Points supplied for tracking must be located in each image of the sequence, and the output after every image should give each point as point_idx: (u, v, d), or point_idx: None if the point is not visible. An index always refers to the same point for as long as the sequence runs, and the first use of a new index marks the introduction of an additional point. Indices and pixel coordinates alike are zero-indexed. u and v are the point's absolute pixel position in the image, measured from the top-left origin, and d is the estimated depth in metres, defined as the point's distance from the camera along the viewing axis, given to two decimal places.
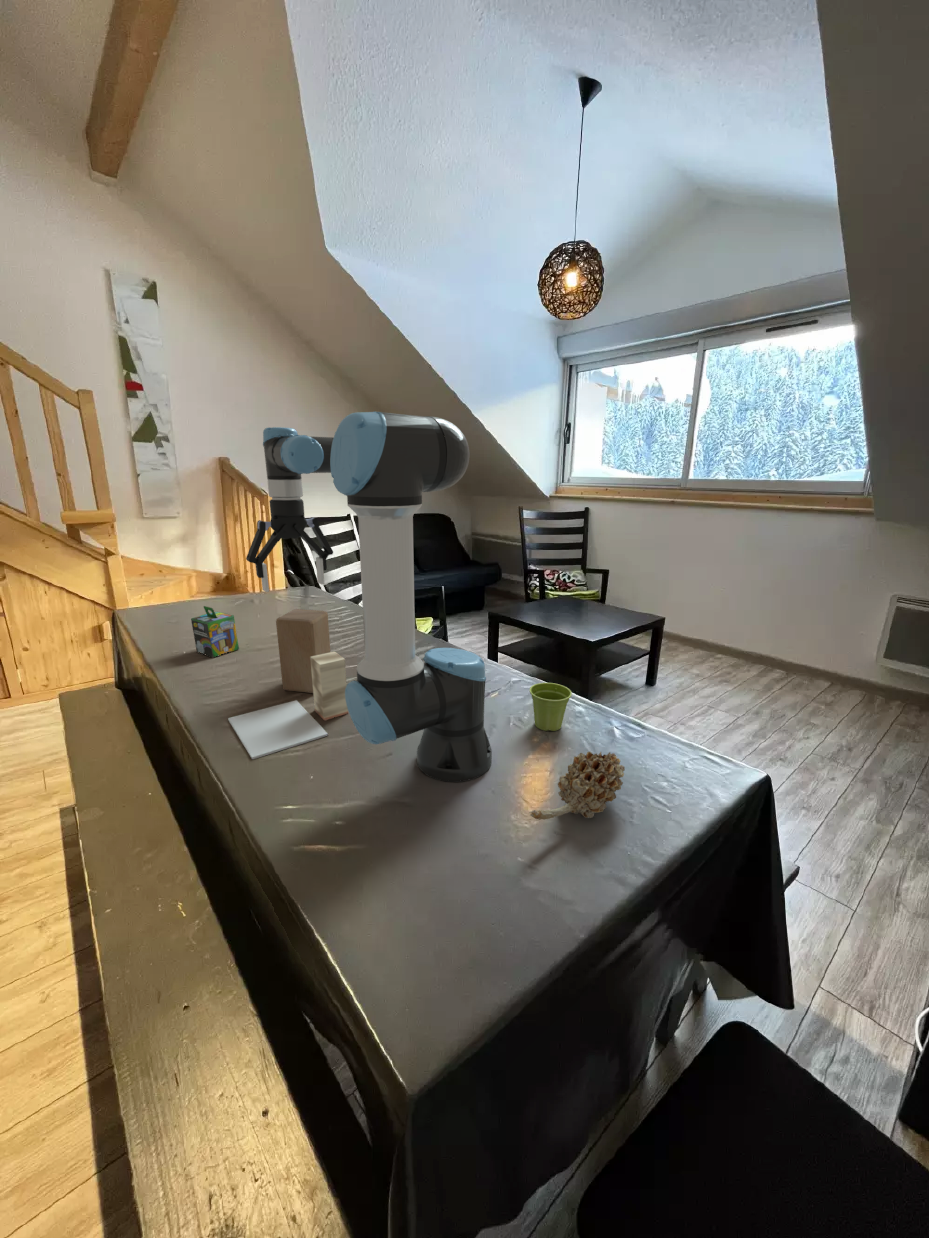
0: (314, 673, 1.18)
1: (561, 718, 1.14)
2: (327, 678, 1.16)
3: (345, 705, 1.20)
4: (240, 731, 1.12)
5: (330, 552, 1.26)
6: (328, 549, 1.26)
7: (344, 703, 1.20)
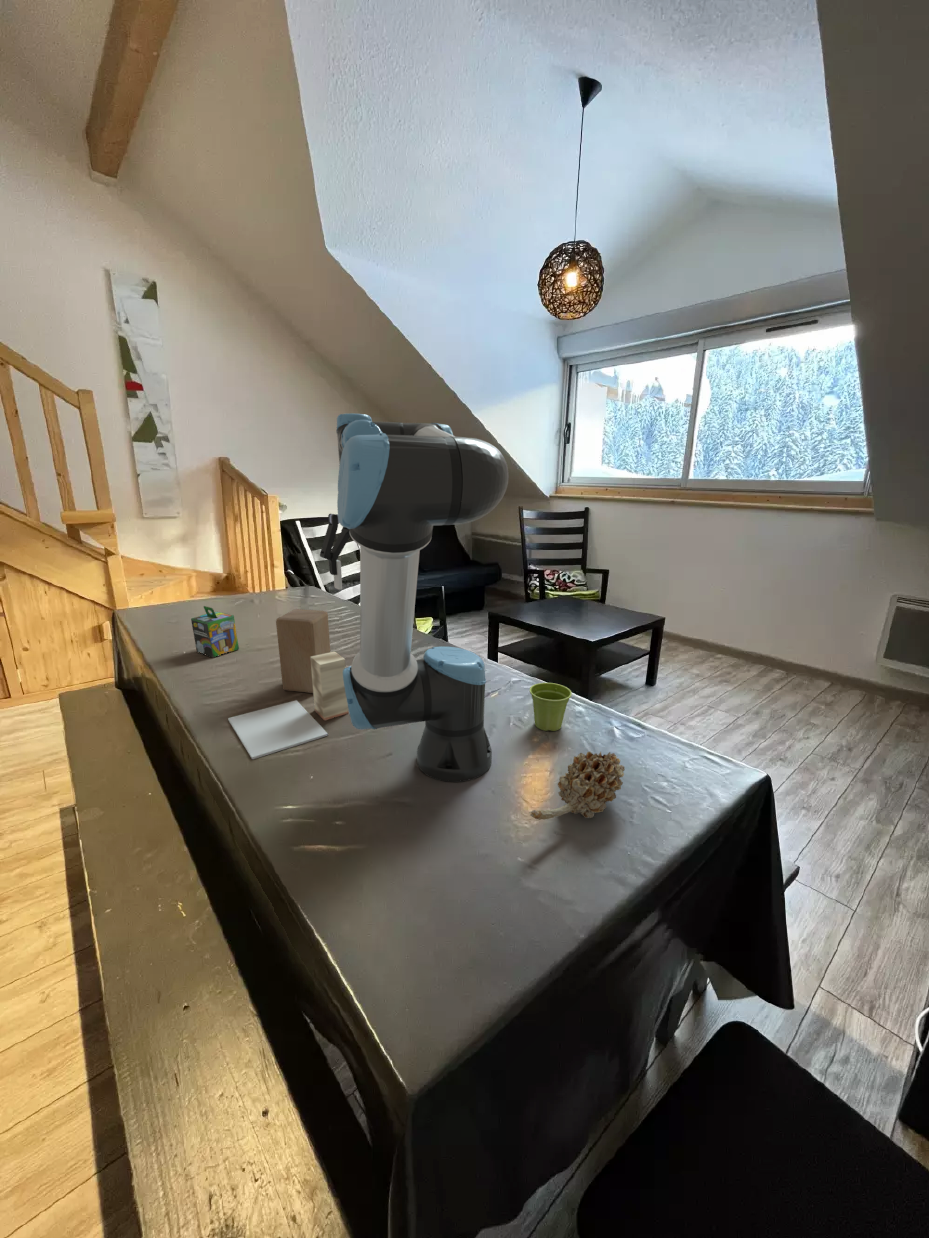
0: (314, 673, 1.18)
1: (561, 718, 1.14)
2: (327, 678, 1.16)
3: (345, 705, 1.20)
4: (240, 731, 1.12)
5: None
6: None
7: (344, 703, 1.20)
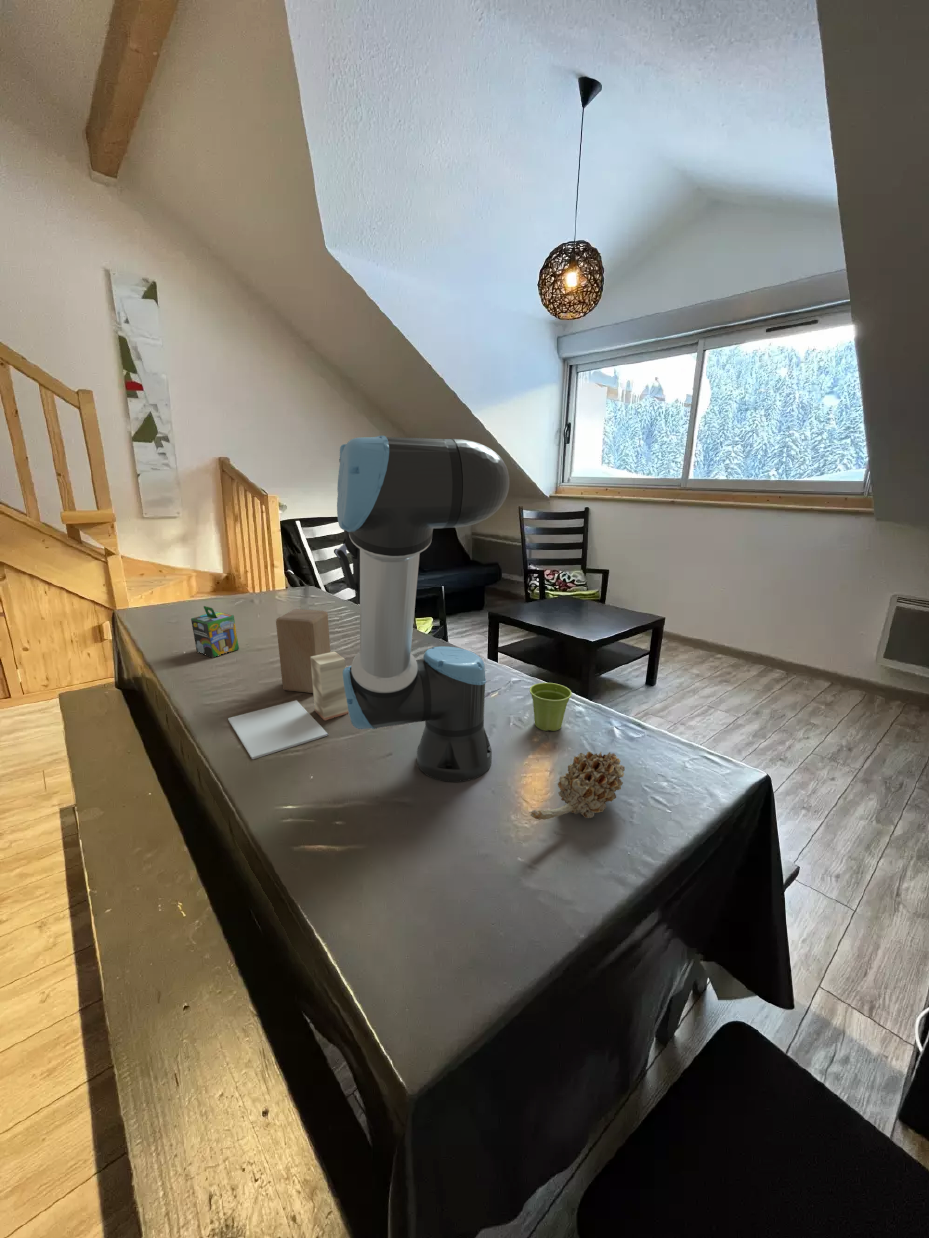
0: (314, 673, 1.18)
1: (561, 718, 1.14)
2: (327, 678, 1.16)
3: (345, 705, 1.20)
4: (240, 731, 1.12)
5: None
6: None
7: (344, 703, 1.20)
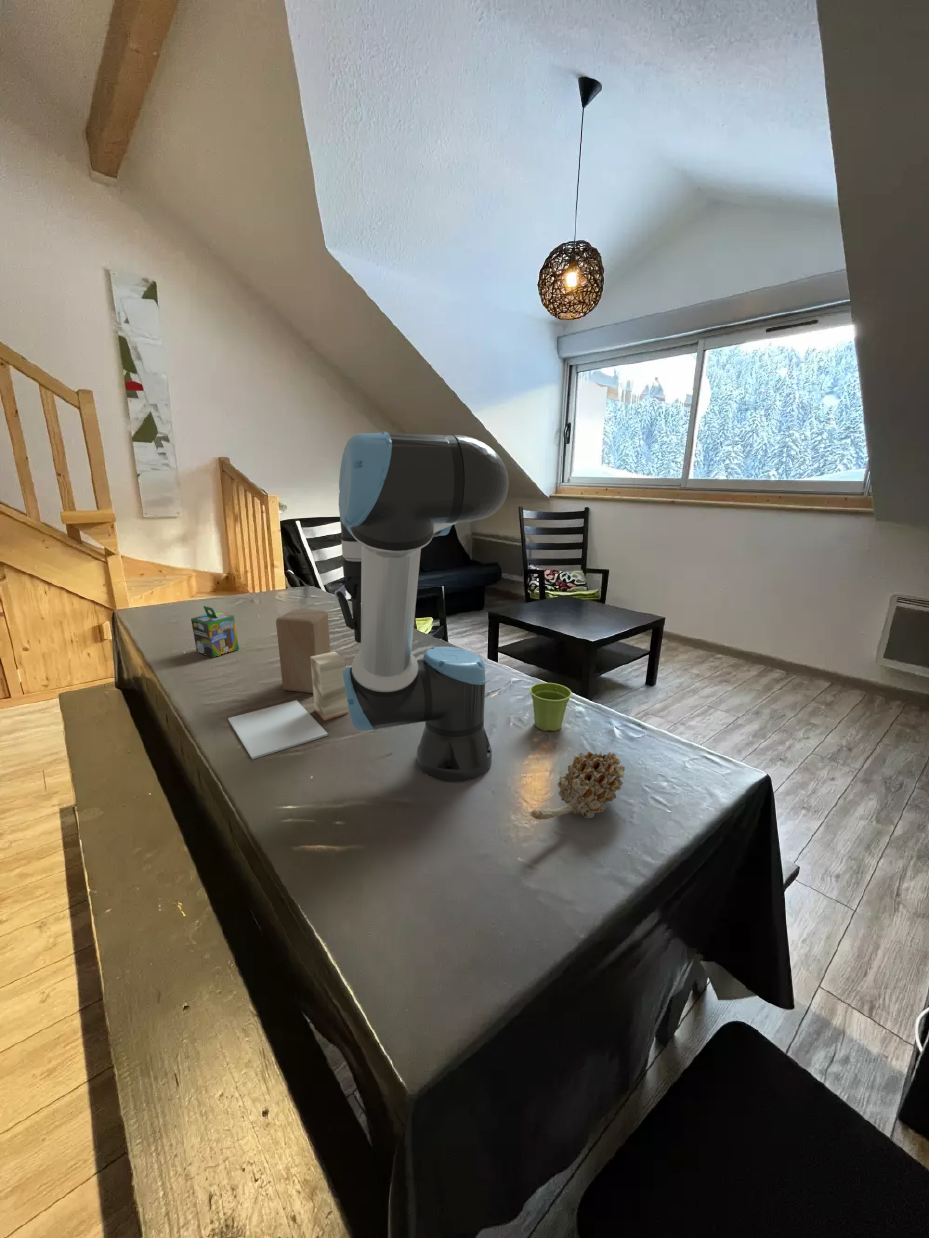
0: (314, 673, 1.18)
1: (561, 718, 1.14)
2: (327, 678, 1.16)
3: (345, 705, 1.20)
4: (240, 731, 1.12)
5: None
6: None
7: (344, 703, 1.20)
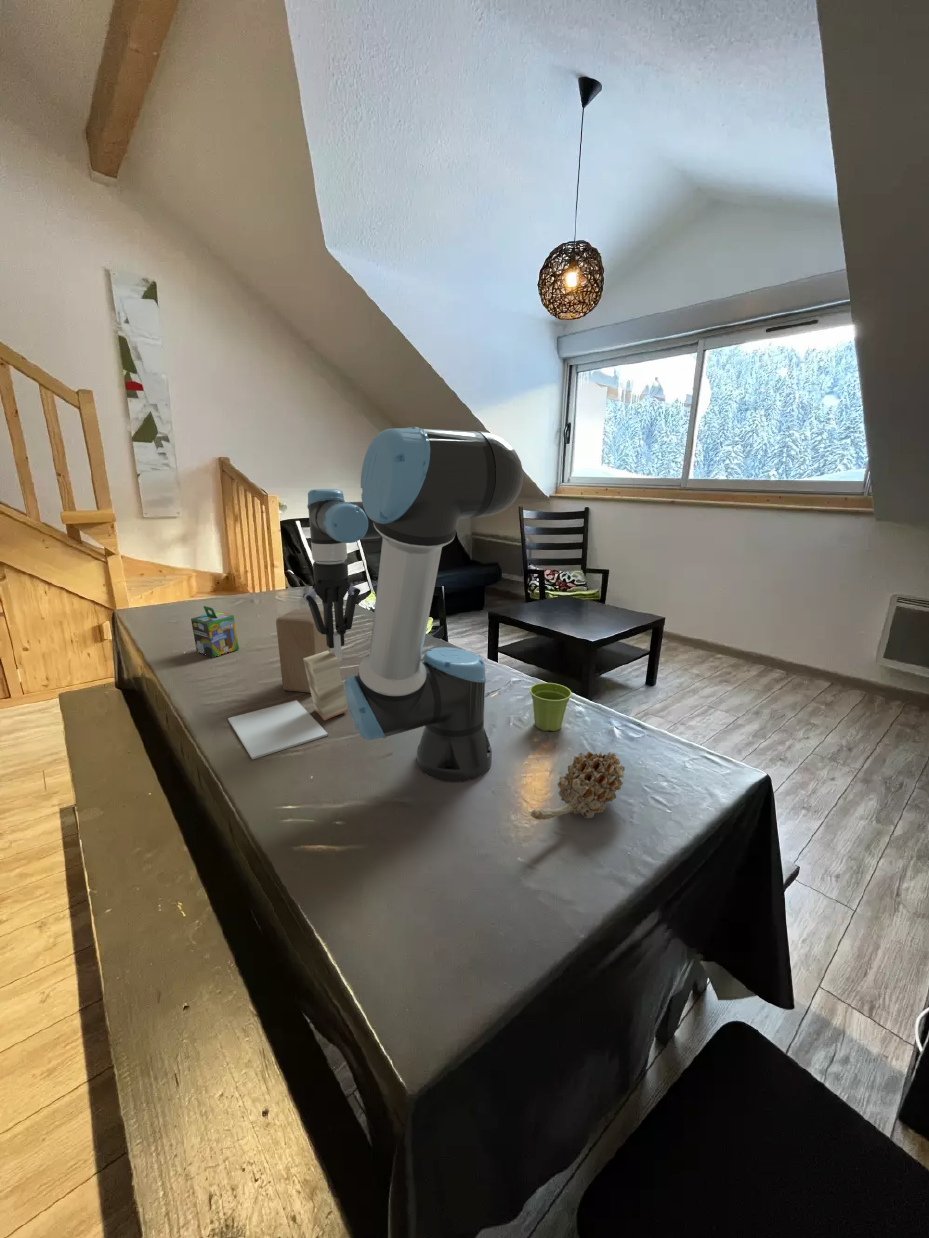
0: (309, 675, 1.17)
1: (561, 718, 1.14)
2: (322, 679, 1.15)
3: (344, 703, 1.20)
4: (240, 731, 1.12)
5: (348, 626, 1.18)
6: (349, 623, 1.18)
7: (342, 701, 1.20)
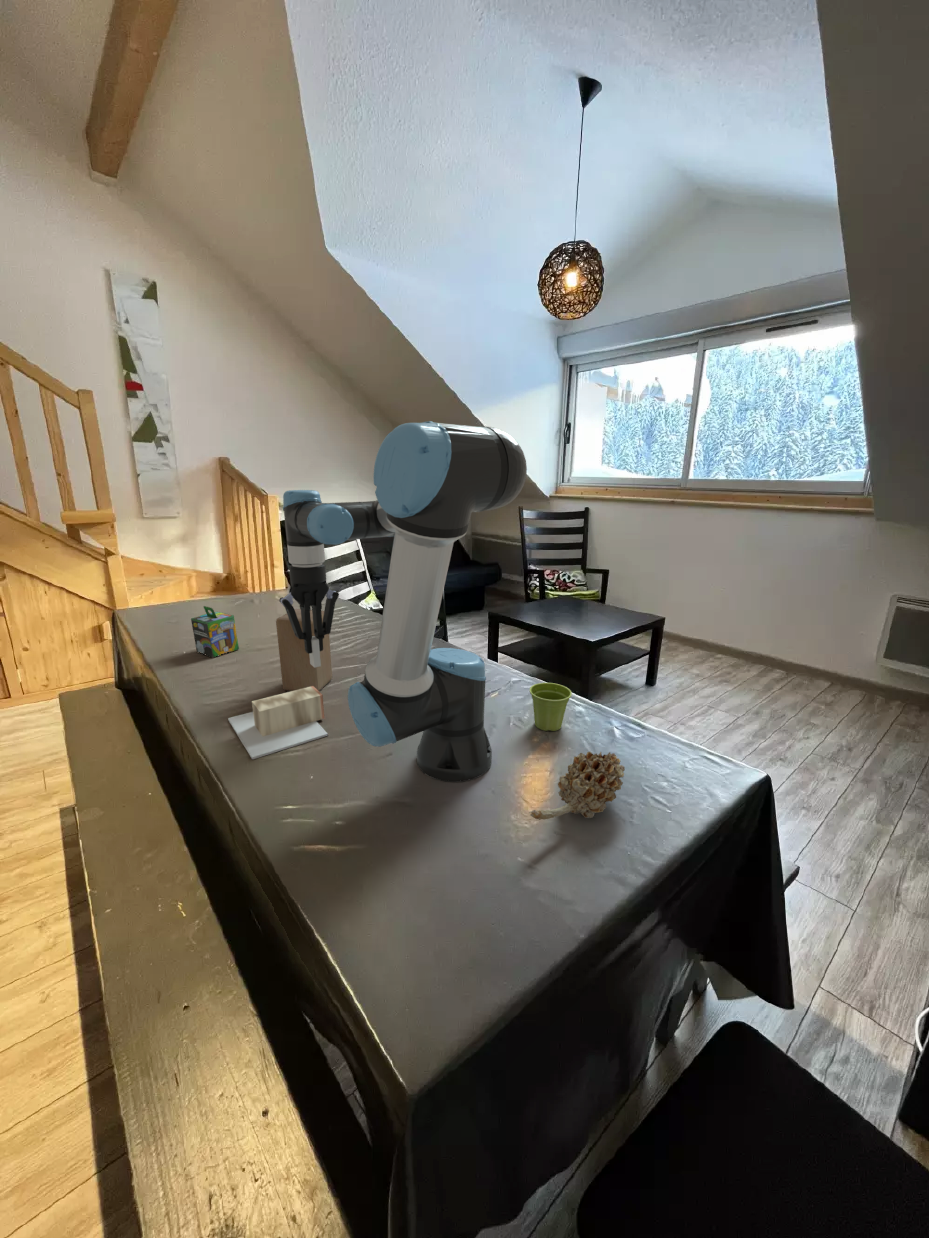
0: None
1: (561, 718, 1.14)
2: (279, 725, 1.11)
3: (313, 699, 1.15)
4: (240, 731, 1.12)
5: (327, 631, 1.15)
6: (327, 627, 1.15)
7: (310, 701, 1.14)
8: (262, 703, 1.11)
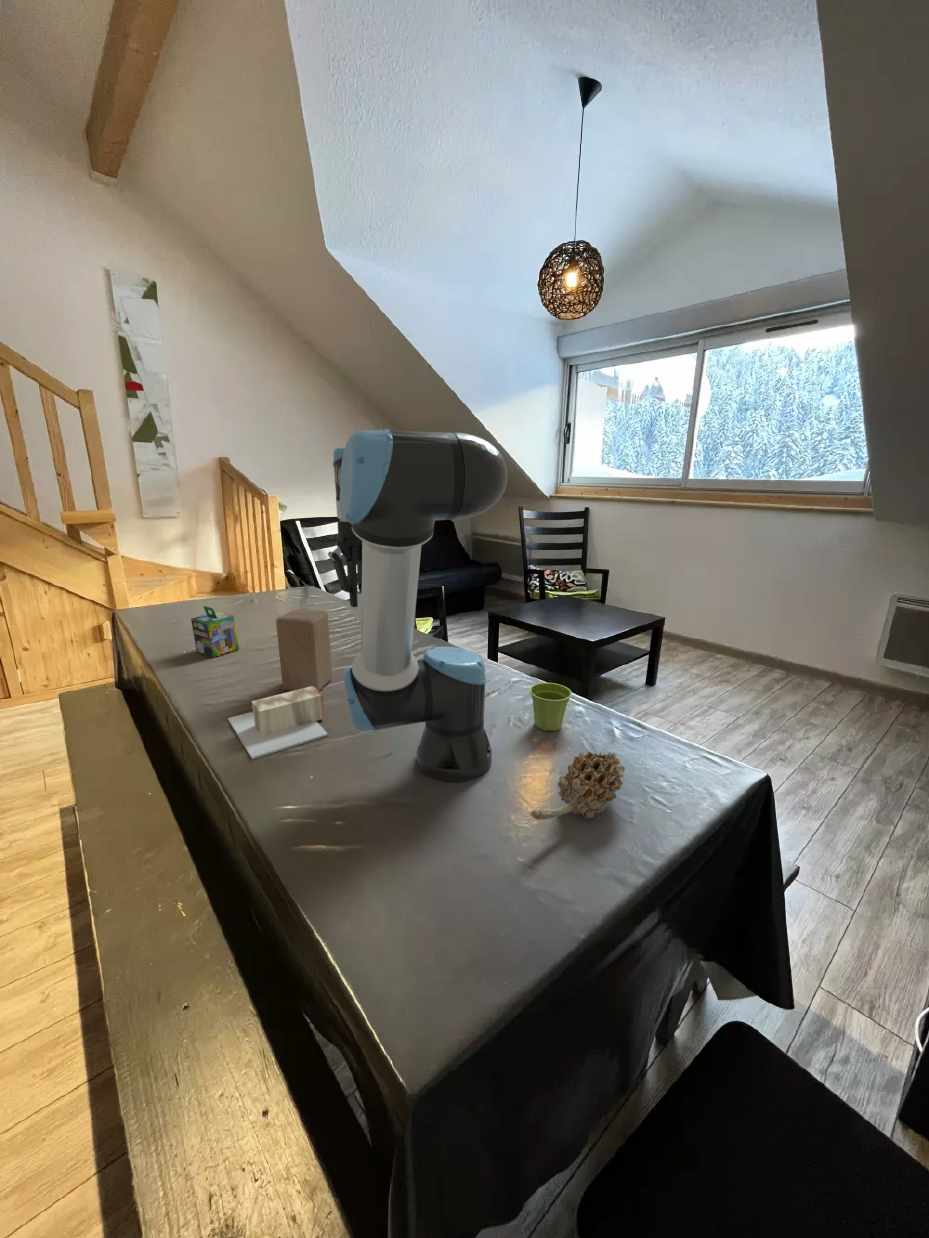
0: None
1: (561, 718, 1.14)
2: (279, 725, 1.11)
3: (313, 699, 1.15)
4: (240, 731, 1.12)
5: None
6: None
7: (310, 701, 1.14)
8: (262, 703, 1.11)
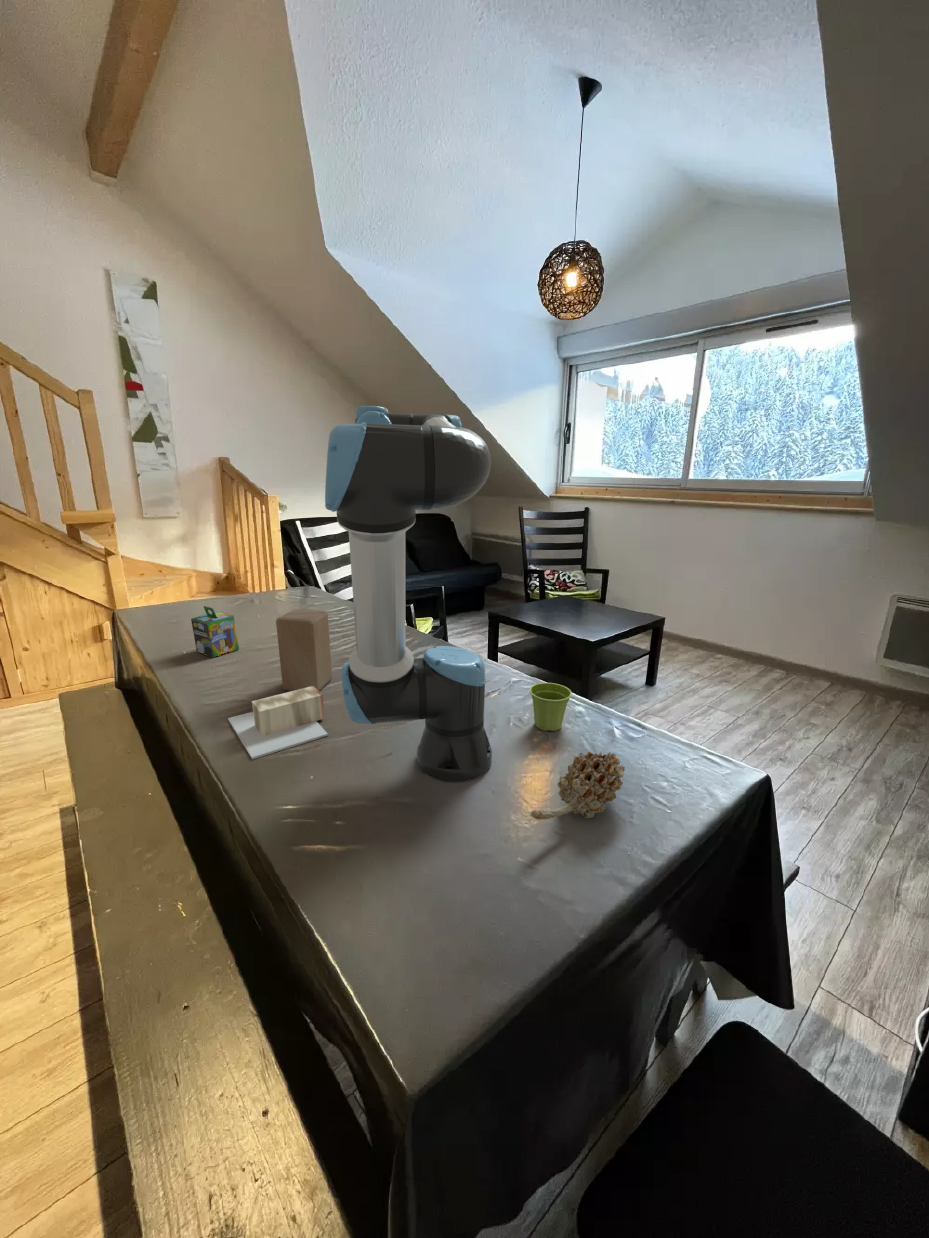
0: None
1: (561, 718, 1.14)
2: (279, 725, 1.11)
3: (313, 699, 1.15)
4: (240, 731, 1.12)
5: None
6: None
7: (310, 701, 1.14)
8: (262, 703, 1.11)
